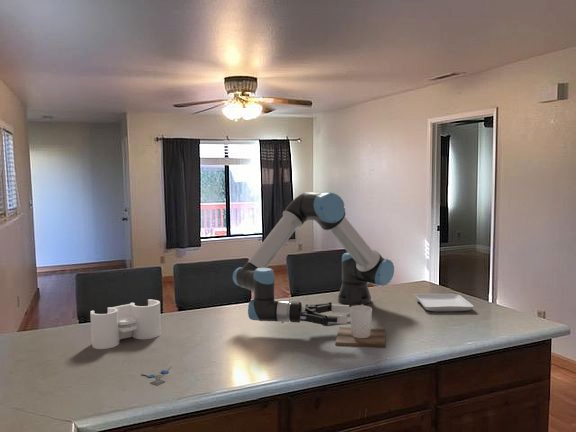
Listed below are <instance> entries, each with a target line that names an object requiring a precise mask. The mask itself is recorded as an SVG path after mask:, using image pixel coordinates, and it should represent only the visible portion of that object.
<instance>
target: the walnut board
mask: <svg viewBox="0 0 576 432" xmlns="http://www.w3.org/2000/svg"><path fill="white" fill-rule="evenodd" d="M335 346H346V347H348V346H349V347H365V348H366V347H367V348H369V347H370V348H383V349H384V348H386V329H385V328H372V327H371V330H370V337H368V338H356V337H353V336H352V335H351V326H350V327H349V326H338V331H337V335H336V339H335Z"/></svg>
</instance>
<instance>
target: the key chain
mask: <svg viewBox="0 0 576 432" xmlns="http://www.w3.org/2000/svg"><path fill="white" fill-rule="evenodd" d="M171 367H172V365H169V366H168V367H167V368H166V369H163V370H162V369H161V370H160V372H159V373H158V374H156V373H153V374H148V373H144V372H141V373H140V374H141V375H143V376H146V377H147V378H154V379H155V380H152V381H151V382H149V384H151V385H154V386H160V385H162V384H164V383H166V380H163V379H161V378H162V377H163V376H165V375H166V374H169V373H170V372H169V370H170V369H171ZM161 374H162V375H161Z"/></svg>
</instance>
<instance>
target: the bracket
mask: <svg viewBox="0 0 576 432" xmlns="http://www.w3.org/2000/svg"><path fill="white" fill-rule="evenodd" d="M89 314H90V315H89V316H90V335H91V345H92V346H91V347H92V348H94V349H96V350H107V349H111V348H115V347H116V346H118V345H119V344H120V340H122V339H127V338H131V337H132V338H134V339H136V340H150V339H155V338H157V337H159V336H161V335H162V323H161V321H162V320H161V301H160V300H157V299H147V305H144V306H143V305H141V306H140V305H136V303H135V302H130V303H127V304H121V305H117V306H112V307H111V306H110V307H109V306H108V307H107V313H95V310H90V313H89Z"/></svg>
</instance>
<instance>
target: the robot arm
mask: <svg viewBox="0 0 576 432" xmlns="http://www.w3.org/2000/svg"><path fill="white" fill-rule="evenodd" d="M346 215H347V214H346V208H345V203H344V200H343V199H342V197H341V196H339V194H336V193H334V192H329V191H323V192H322V191H305V192H302V193H301V194H299V195H297V196H296V197H295V198H294V199H293V200H292V201H291V202H290V203H289V204H288V205H287V207H286V208H285V209H284V210H283V212H282V217H281V218H280V219H279V220H278V222H277V223H276V224H275V226H274V227H273V228H272V229H271V231H270V232H269V234H268V235H267V236H266V237H265V239H264V240H263V241H262V243H261V244H260V245H259V246H258V248H257V249H256V250H255V251H254V253H253V254H252V255H251V257H250V258H249V259H248V261H247V262H246V263H245V264H244V266H239V267H237V268H235V270H234V271H233V272H232V281H233V282H234V284H235V285H236V286H238V287H240V288H243V289H247V290H249V291H252V292H253V299H251V300H250V301H249V302H248V308H247V316H248V318H249V319H250V320H252V321H259V322H281V324H285V323H288V322H290V323H298V324H299V323H300V322H307V323H313V324H318V325H322V326H323V325H325V326H329V325H328V323H333V324H343V325H344V324H346V325H347V324H348V318H347V316H345V315H344V314H346V313H349V312H350V306H356V305H361V304H363V305H364V306H365V305H367V304H370V303H371V302H372V296H371V292H370V290H369V286H368V283H369V284H373V285H376V286H381V287H383V286H387V285H388V284H389V283H391V281H392V279H393V278H394V276H395V275H394V274H395V265H394V263H393V261H392V260H390V259H388V258H384V257H383V256H382V255H381V254H380V253H379V251H377V250H376V249H372V248H371V247H370V245H368V243H367V242H366V241H365V240H364V238H363V237H362V236H361V235H360V233H359V232H358V231H357V230H356V228H355V227H354V226H353V225H352V223H350V221H349V220H348V218H346ZM307 221H314V222H316V223H317V224H318V225H319V226H320V227H321V229H322V230H324V231H329V232H330V233H331V235H332V236H333V237H334V238H335V239H336V240H337V241H338V243H339V245H341V246H342V247H343V249H345V251H346V252H345V253H343V254H342V256H341V286H340V290H339V293H338V296H337V297H338V299H337V301H338V302H339V303H340V304H333V303H332V301H330V302H322V303H312V304H309V303H306V304H305V306H302V302H301V301H294V300H293V301H289V300H288V301H287V300H275V281H276V280H275V272H274V269H272V268H271V267H268V266H269V265H270V264H271V263H272V261H273V260H274V259H275V258H276V257H277V255H278V254H279V252H280V251H281V250H282V248H284V245H286V243H287V242H288V240H289V239H290V238H291V237H292V235H293V234H294V233H295V231H296V229H298V228H301V227H302V226H303V225H304V224H305V223H306V222H307ZM326 312H327V313H328V312H331V313H341V314H342V313H344V314H342V315H341V314H340V315H339V314H328V315H326V314H323V313H326ZM325 326H324V327H325Z"/></svg>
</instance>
